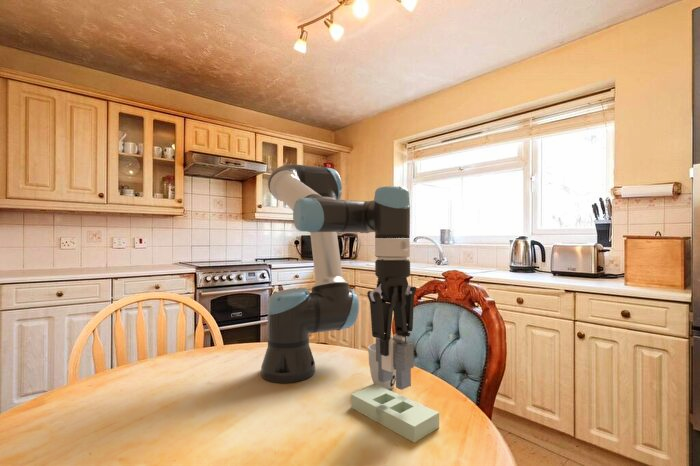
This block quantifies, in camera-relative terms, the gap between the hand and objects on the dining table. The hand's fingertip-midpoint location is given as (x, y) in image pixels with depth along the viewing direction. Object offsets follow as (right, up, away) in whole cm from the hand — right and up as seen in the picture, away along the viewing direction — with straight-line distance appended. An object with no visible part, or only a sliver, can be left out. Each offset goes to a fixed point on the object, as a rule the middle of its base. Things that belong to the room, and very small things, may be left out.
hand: (393, 367), depth 74 cm
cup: (-1, -11, +16) cm, 19 cm away
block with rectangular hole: (0, -11, 0) cm, 11 cm away
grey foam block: (0, -3, 0) cm, 3 cm away
